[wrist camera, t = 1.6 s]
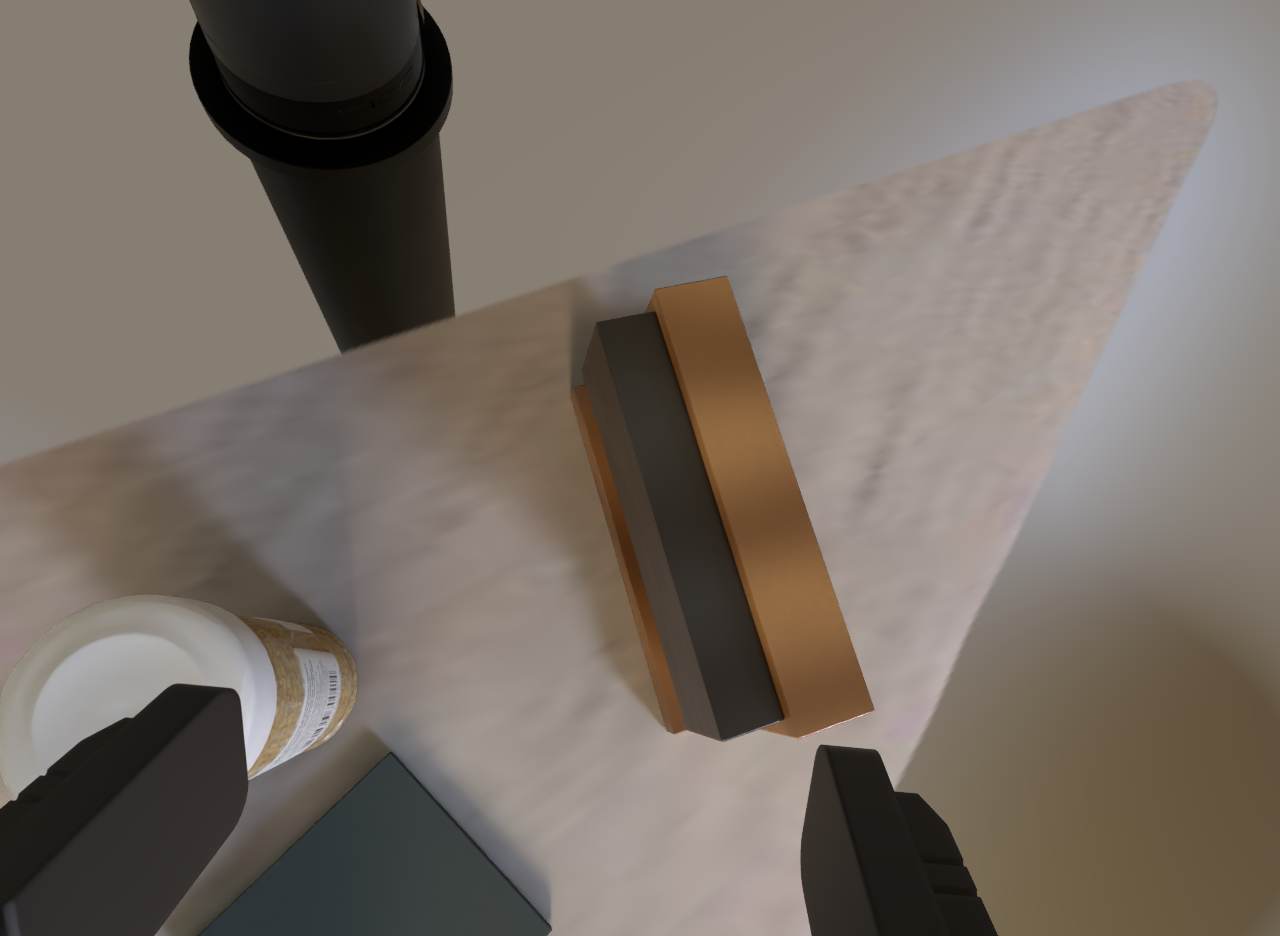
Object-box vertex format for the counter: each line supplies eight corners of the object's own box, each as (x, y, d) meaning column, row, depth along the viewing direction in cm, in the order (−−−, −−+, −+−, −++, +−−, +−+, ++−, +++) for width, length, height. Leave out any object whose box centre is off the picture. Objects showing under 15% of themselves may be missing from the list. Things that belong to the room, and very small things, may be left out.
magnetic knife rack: (564, 397, 32) (593, 299, 23) (701, 368, 33) (776, 266, 25) (660, 734, 29) (733, 763, 21) (804, 684, 31) (927, 692, 22)
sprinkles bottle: (284, 599, 28) (113, 545, 15) (387, 671, 28) (304, 677, 15) (194, 709, 26) (-81, 753, 14) (302, 784, 26) (130, 897, 14)
